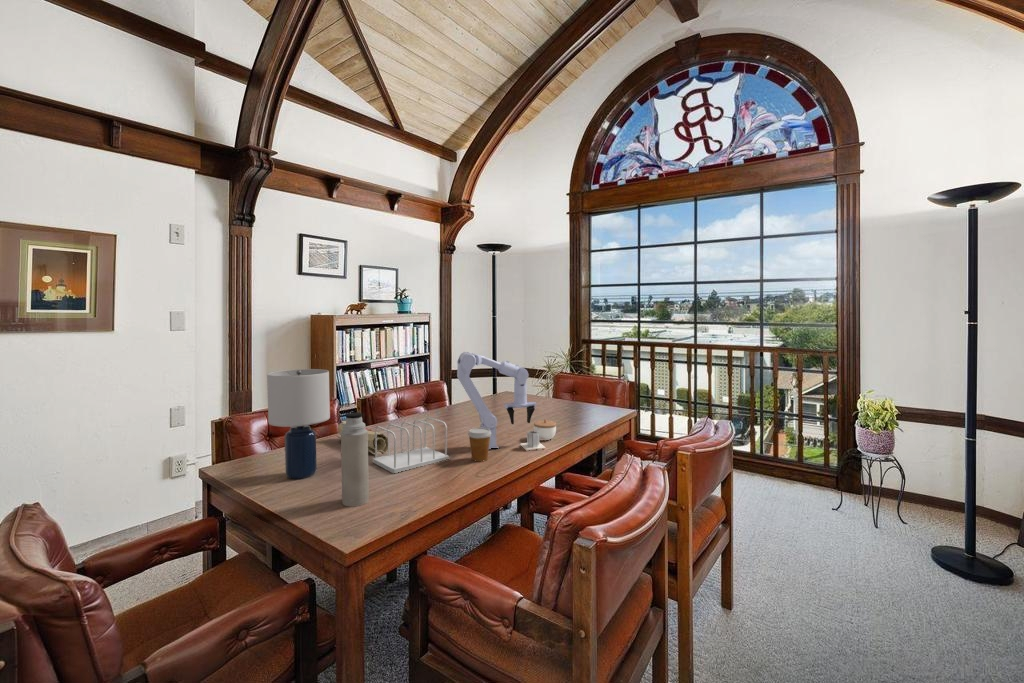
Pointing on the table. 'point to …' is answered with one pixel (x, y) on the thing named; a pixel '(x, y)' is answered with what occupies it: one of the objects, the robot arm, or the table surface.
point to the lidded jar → (545, 429)
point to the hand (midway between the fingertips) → (520, 423)
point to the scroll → (371, 439)
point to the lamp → (299, 414)
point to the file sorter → (410, 451)
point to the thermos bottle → (354, 461)
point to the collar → (533, 439)
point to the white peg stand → (531, 447)
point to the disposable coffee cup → (479, 443)
